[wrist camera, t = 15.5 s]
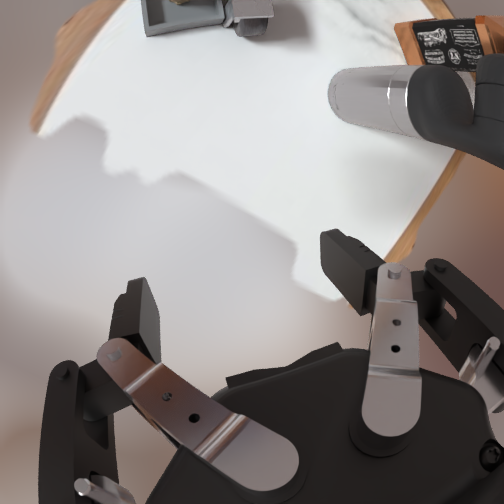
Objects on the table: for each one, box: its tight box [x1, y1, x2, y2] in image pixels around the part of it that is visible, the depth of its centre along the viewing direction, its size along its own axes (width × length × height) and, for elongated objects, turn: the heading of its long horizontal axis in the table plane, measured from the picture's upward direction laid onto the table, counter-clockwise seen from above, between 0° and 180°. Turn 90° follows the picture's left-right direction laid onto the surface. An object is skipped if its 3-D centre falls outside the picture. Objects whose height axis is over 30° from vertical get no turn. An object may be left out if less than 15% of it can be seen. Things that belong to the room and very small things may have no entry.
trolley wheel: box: [223, 0, 274, 37], centre depth 26 cm, size 5×9×10 cm, turn 9°
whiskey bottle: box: [394, 16, 504, 72], centre depth 23 cm, size 10×10×32 cm
